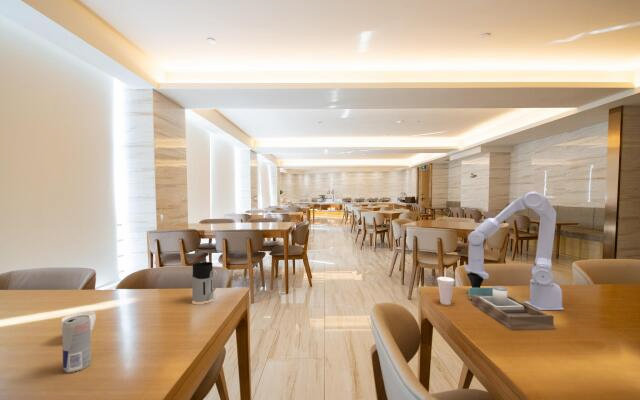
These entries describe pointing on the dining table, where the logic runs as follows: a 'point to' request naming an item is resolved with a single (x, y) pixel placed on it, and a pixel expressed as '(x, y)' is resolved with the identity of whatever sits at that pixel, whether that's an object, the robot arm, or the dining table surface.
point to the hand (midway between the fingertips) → (475, 291)
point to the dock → (516, 315)
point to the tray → (488, 297)
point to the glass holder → (203, 281)
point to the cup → (89, 313)
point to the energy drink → (76, 343)
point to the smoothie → (445, 289)
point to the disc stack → (500, 295)
